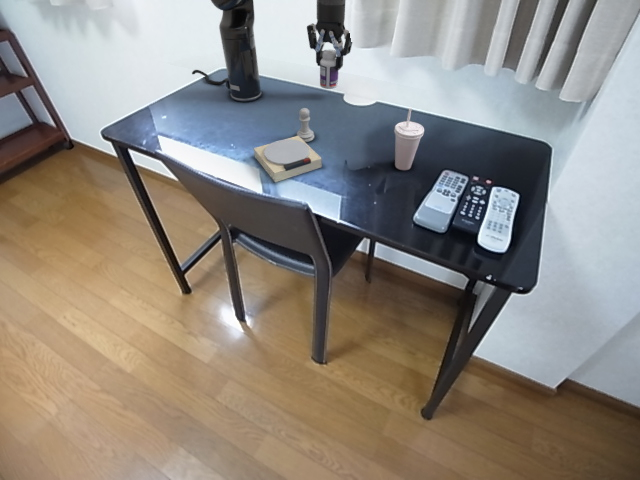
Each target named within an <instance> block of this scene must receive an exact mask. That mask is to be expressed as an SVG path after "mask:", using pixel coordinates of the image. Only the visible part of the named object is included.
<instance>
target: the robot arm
mask: <svg viewBox="0 0 640 480" xmlns="http://www.w3.org/2000/svg"><path fill="white" fill-rule="evenodd" d="M210 1H211V4H212V5H213V6H214V7H215V8H216V9H218V10H220V11H222V16H221V20H220V21H219V27H218V29H219V35H220V40H221V46H222V52H223V57H224V62H225V68H226V73H227V77H226V78H224V79H222V80H220V81H216V80H212V79H210V77H209V75H208V74H207V73H205V72H204V71H202V70H200V69H194V70H193V71H191V75H195V74H200V75H202V76H203V77H205V81H206V83H207V82H208V83H209V84H212V85H224V84H225V87H226V88H227V90H228V89H229V90H230V97H231V99H232V100H234V101H237V102H253V101H255V100H259V99H260V98H261V97H262V95H263V93H262V88H261V80H260V72H259V64H258V63H259V62H258V56H257V55H258V54H257V47H256V40H255V31H254V25H255V19H256V18H255V4H254V0H210ZM345 17H346V0H316V23H310V24H308V25H307V26H306V33H307V37H308V44H309V49H310V50H314V51H315V62H316V64H317V65H316V66H318V67H320V61H321V59H322V58H323V51H324V47H325V44H326V43H329V44H331V45H332V46H333V50H335V51H336V54H337V56H336V70H338V71H339V70H341V69H342V68H343V65H344V57H345V56H347V55H348V54H350V53H351V51H352V45H353V42H351V38H350V33H349V31H350V30H349V29H347V28H346V27H345ZM317 34H318V37H317ZM343 39H344V40H345V41H343Z"/></svg>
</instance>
